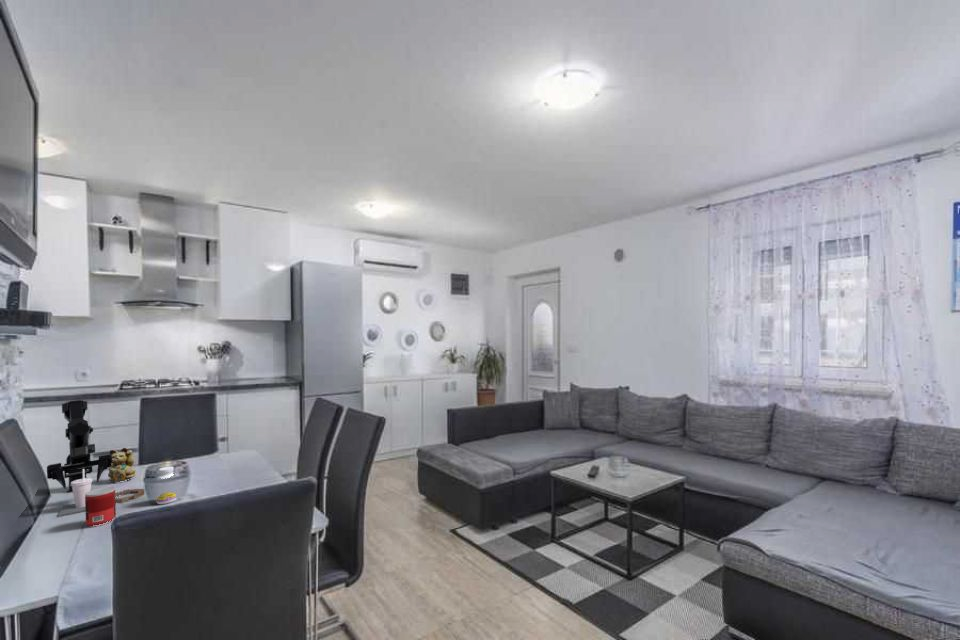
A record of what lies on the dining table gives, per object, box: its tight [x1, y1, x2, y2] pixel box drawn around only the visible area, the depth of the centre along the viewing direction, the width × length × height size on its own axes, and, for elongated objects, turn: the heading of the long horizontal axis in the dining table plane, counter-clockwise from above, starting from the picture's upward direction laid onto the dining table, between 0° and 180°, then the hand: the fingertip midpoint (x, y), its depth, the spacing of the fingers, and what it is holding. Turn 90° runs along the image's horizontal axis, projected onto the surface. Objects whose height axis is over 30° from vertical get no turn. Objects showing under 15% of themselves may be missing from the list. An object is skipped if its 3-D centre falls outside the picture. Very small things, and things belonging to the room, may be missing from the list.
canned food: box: [84, 486, 117, 527], centre depth 153 cm, size 8×8×11 cm
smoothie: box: [71, 469, 94, 508], centre depth 168 cm, size 6×6×14 cm
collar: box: [115, 488, 145, 504], centre depth 177 cm, size 15×12×1 cm
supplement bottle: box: [155, 466, 178, 505], centre depth 170 cm, size 7×7×13 cm
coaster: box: [57, 502, 86, 517], centre depth 168 cm, size 12×12×1 cm
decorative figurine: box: [107, 447, 136, 482], centre depth 199 cm, size 10×8×15 cm
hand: (81, 484), depth 167 cm, fingers open, 9 cm apart
